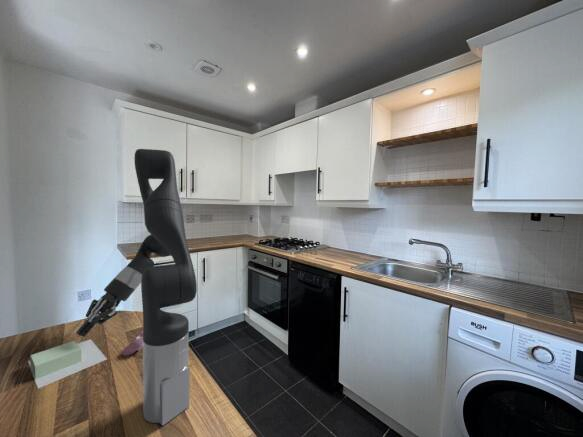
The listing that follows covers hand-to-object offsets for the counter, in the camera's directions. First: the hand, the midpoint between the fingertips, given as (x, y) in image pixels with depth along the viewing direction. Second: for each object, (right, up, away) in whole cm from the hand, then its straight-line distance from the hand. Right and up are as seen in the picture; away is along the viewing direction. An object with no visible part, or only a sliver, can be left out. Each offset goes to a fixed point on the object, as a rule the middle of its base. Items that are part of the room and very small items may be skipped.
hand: (79, 334), depth 70 cm
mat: (-2, -7, -2) cm, 7 cm away
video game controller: (+14, -7, +6) cm, 17 cm away
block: (-1, -5, 0) cm, 5 cm away
